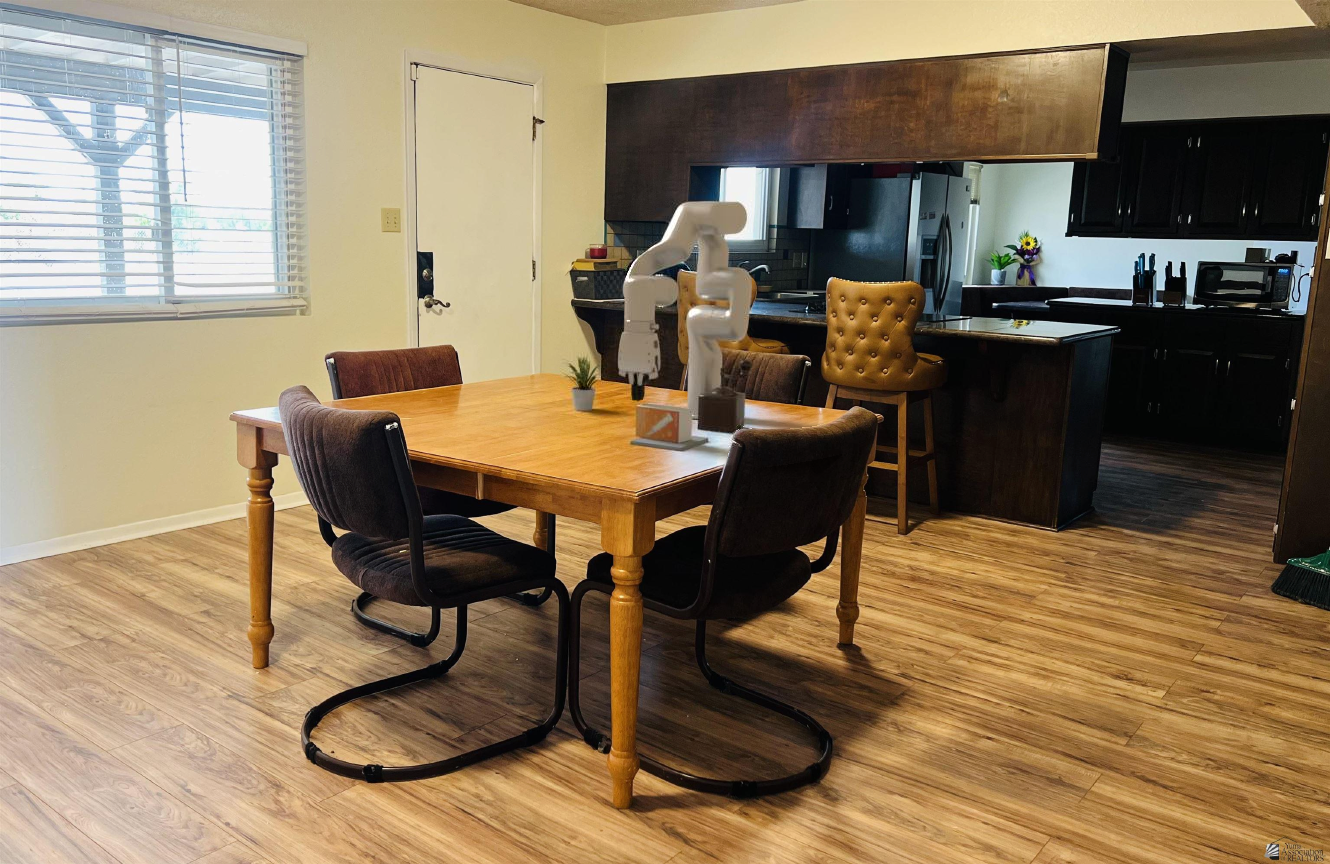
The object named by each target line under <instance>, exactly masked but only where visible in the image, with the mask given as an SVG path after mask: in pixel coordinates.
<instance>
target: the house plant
mask: <svg viewBox="0 0 1330 864" xmlns="http://www.w3.org/2000/svg"><path fill="white" fill-rule="evenodd" d="M588 356H589V354H588V355H587V356H583V357H579V356H576V357H577V361H578V362H577V363H578V368H579V370H578V369H576V367H575V366H574V365H572V364H571V363H569V362H568V360H566V359H565V358H563V359H562V360H564V361H566V364H567V365H565V367H566V366H567V367H569V368H571V370H572V371H570V373H571V374H574V375H575V377H573V376H569V375H567V374H565V373H563V372H561V374H564V375H565V376H563V379H565V378H569V379H570V381H569V382H570V383H571V382H573V384H576V386H573V387H571V396H572V402H573V409H574V411H577V410H579V412H589V411H590V412H591V411H592V410H593V408H594V407H593V406H594V400H595V395H596V394H595V393H596V388H595V387H593V385H594V384H595V383H597V382H602V380H601V379H597V380H595V379H596V378H597V377H596V376H601V375H602V374H601V373H599V374H594V373H595V372H596V370H597V368H598V367H599V366H600V365H602V363H603V362H602V363H601V362H600V363H599V364H597V365H596V366H595V367H594V368H593V369H592V371H591V372H590V370H591V362H590V360H589V359H588ZM562 363H563V364H565V362H562ZM578 371H579V372H578Z"/></svg>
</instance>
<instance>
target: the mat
mask: <svg viewBox="0 0 1330 864" xmlns="http://www.w3.org/2000/svg"><path fill="white" fill-rule="evenodd" d="M707 442H709V437H704V436H697V435H691V440H688V441H685V442H681V443H673V442H667V441H660V440H654V439H647V438H641V437H637V438H635V439H632V440H630V443H629V444H630V445H633V446H634V445H635V446H642V447H648V448H656V449H663V450H671V451H678V452H682V451H684V450H688V449H691V448H693V447H696V446H699V445H701V444H704V443H707Z"/></svg>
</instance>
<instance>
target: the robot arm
mask: <svg viewBox="0 0 1330 864" xmlns="http://www.w3.org/2000/svg"><path fill="white" fill-rule="evenodd" d="M747 221H748V213H747V210H746V208H745V206H744V204H742V203H741V202H739V201H718V200H717V201H716V200H715V201H713V200H712V201H711V200H708V201H707V200H705V201H703V200H702V201H687V202H683V203H681V204H680V205H679V206H678V207H677V208H676V210H675V212H674V214H673V216H672V218H671V219H670V221H669V224H668V226H667V228H666V230H665V232H664V234H663V237H662V239H660V240H659V242H657V243H656V244H654V245H653V246H651V247H650V248H648V249H647V250H646V251H645V252H643V253H642V254H641V255H639V256H638V257H637V258H636V259H635V260H634V261H633V263H632V264H631V267H629V270H628V272H627V275H626V276H625V279H624V281H623V285H622V294H623V298H624V315H623V316H624V323H623V328H624V329H623V332H622V333H621V335H620V340H619V347H618V355H617V356H618V357H617V367H618V375H619V376H621V377H624V378H626V380H628V382H629V385H631V386H630V387H631V388H630V391H631V392H630V396H631V401H634V402H635V401H636V402H640V401H643V400H644V397H645V393H646V392H645V390H646V385H647V383H648V382H649V381H650V380H652V379H658V378H659V373H658V372H659V371H660V370H661V351H660V350H661V348H660V341H659V336H658V333H655V332H656V330H659V328H660V326H659V324H658V323H656V320H655V319H656V318H655V317H656V316H655V312H656V311H655V310H656V307H668V306H671V305H673V304H674V303H675V302H676V301H677V299H678V297H679V294H680V293H679V292H680V289H679V286H678V283H677V282H676V280H675V279H673V278H672V277H670V276H664V275H663V276H662V275H661V276H659V275H654V274H655V273H657V272H659V271H661V270H665V269H667V268H670V267H671V268H672V267H673V266H674V267H675V266H676V265H679V264H681V263H683V262H684V263H685V261H687V260H688V259H689V258H690V257H691V254H692V252H693V250H694V248H695V246H696V243H697V248H698V256H697V268H696V274H695V275H696V276H695V293H696V296H697V297H699V298H700V299H702V300H704V301H705V300H706V301H713V302H714V301H715V302H729V306H723V305H713V304H710V305H709V304H701V305H696V306H693V307H692V308H691V309H689V311H688V312H687V315H686V319H685V320H686V322H685V323H686V330H687V331H686V332H687V336H688V337H687V338H688V371H687V373H688V374H687V399H686V400H687V403H686V404H687V406H686V407H687V408H692V420H693V419H694V420H698V397H699V395H701V394H703V393H706V392H709V391H711V390H712V389H714V388H717V387H720V385H721V375H720V372H721V371H720V369H721V367H723V354H722V353H723V352H722V350H721V347H720V346H719V344H718V343H717V341H726V342H739V341H742V340H743V339H744V338H745V336H746V335H747V331H748V328H749V320H750V312H751V304H752V303H751V301H752V300H751V299H752V292H753V291H752V290H753V283H752V282H753V281H752V278H751V275H750V274H749V273H750V272H749V271H748V270H746V269H745V268H741V267H733V266H732V267H731V266H729V256H730V255H729V254H730V248H729V245H728V243H727V241H726V240H725V238H724V237H723V236H725V235H726V236H727V235H736V234H739V233H741V232H742V231H743V230H744V229H745V227H746V224H747Z"/></svg>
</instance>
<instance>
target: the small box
mask: <svg viewBox="0 0 1330 864" xmlns="http://www.w3.org/2000/svg"><path fill="white" fill-rule="evenodd" d="M692 429H693V418H692V408H687V406H686V407H685V406H678V405H677V406H675V405H671V404H669V405H668V404H664V403H663V404H662V403H654V402H647V403H642V404H638V405H636V406H635V437H636V438H647V439H654V440H660V441H667V442H673V443H681V442H685V441H688V440H691V436H693V435H692Z"/></svg>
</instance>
